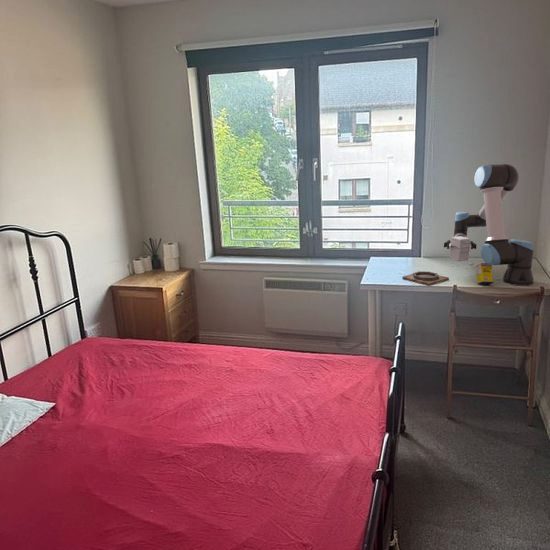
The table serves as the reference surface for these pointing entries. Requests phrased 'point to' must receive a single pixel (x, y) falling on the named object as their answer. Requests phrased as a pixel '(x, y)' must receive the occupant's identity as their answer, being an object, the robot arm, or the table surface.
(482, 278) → the supplement box
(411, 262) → the table surface
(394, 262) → the table surface
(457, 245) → the supplement box
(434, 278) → the mount plate
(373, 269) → the table surface
